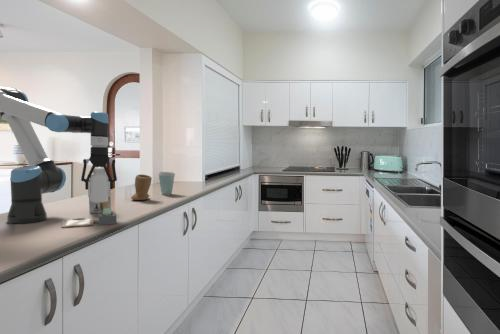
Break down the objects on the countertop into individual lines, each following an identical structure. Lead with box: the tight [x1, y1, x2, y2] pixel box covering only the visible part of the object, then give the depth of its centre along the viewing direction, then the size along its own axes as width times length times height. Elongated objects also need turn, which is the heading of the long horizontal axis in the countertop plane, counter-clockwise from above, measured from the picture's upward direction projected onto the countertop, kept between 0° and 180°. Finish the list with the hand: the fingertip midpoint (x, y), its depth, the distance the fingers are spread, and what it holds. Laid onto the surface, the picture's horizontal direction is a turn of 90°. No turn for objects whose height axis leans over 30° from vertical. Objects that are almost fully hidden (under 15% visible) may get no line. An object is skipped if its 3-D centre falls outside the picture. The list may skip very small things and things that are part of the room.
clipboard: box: [61, 217, 95, 229], centre depth 169 cm, size 12×14×1 cm
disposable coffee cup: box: [157, 171, 176, 196], centre depth 265 cm, size 11×11×15 cm
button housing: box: [98, 212, 117, 226], centre depth 172 cm, size 7×7×4 cm
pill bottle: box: [89, 167, 109, 203], centre depth 183 cm, size 8×8×15 cm
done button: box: [103, 208, 112, 216], centre depth 171 cm, size 3×3×4 cm
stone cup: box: [130, 174, 152, 201], centre depth 240 cm, size 15×12×15 cm
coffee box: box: [88, 179, 112, 214], centre depth 198 cm, size 9×6×16 cm
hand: (99, 196), depth 183 cm, fingers closed on pill bottle, 8 cm apart
